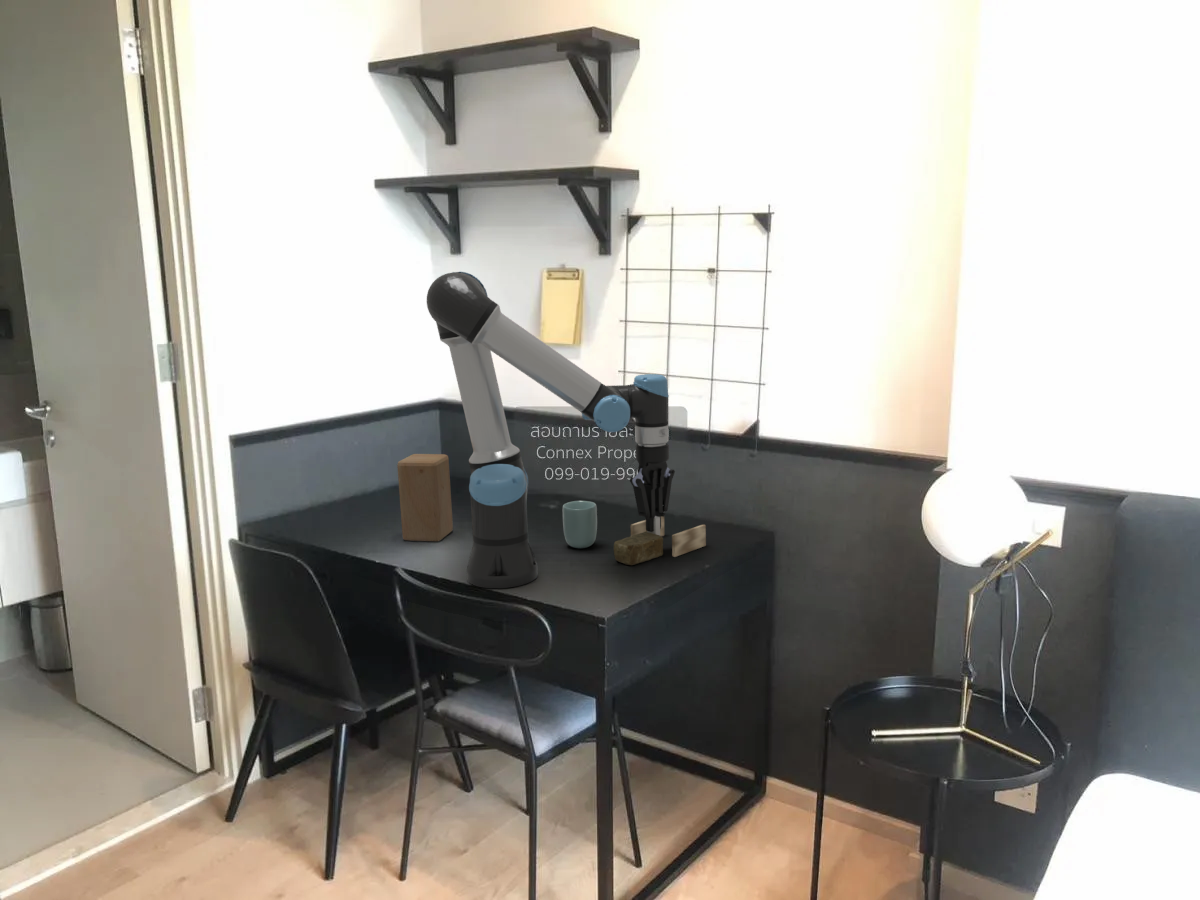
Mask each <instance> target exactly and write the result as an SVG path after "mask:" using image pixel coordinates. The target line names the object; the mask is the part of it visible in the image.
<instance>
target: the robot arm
mask: <svg viewBox="0 0 1200 900" xmlns="http://www.w3.org/2000/svg"><path fill="white" fill-rule="evenodd" d="M426 307H427V311H428V313H429V315H430V317H431V318H432V319H433V320H434V321H435V324H436V328H437V332H438V335H439V340H440V342H442V343H444V345H446V346H448V348H449V351H450V356H451V361H452V366H453V369H454V373H455V374H454V375H455V377H456V381H457V386H458V391H459V395H460V400H461V404H462V408H463V412H464V417H465V421H466V425H467V428H468V434H469V437H470V442H471V447H472V451H473V452H472V454H471V455H470V457H469V459H468V463H469V464H468V465H469V468H470V473H471V475H470V477H469V485H468V490H469V493H470V509H471V510H470V511H471V525H472V530H471V531H472V540H473V541H472V547H471V552H470V555H469V560H468V563H467V567H466V580H467V582H468V583H469V584H471V585H472V584H473V586H475V587H479V588H486V589H507V588H508V589H509V588H515V587H519V586H523V585H526V584H529V583H531V582H533V581H534V580H535V579H537V578H538V575H539V572H538V571H539V570H538V568H539V567H538V563H537V560H536V558H535V555H534V552H533V549H532V547H531V544H530V542H529V534H528V528H529V527H528V508H527V507H528V505H527V500H528V499H527V498H528V491H529V476H528V474H527V472H526V469H525V468H524V462H523V459H522V455H521V450H520V448H519V447H518V446H516V445H514V444H513V443H512V440H511V437H510V436H511V435H510V433H509V428H508V423H507V419H506V414H505V409H504V406H503V400H502V396H501V392H500V387H499V382H498V378H497V373H496V369H495V366H494V361H493V356H492V353H493V354H495V355H496V356H498V357H500V358H501V359H503V360H504V361H505V362H507V363H508V364H510V365H511V366H513V367H514V368H515V369H518V371H520V372H522V373H523V374H524V375H526V376H527V377H529V378H530V379H532V380H533V381H535V382H536V383H538V384H539V385H541V386H542V387H544V388H545V389H546V390H548V391H549V392H550V393H553V394H554V395H555V396H556V397H558V398H559V399H561V400H562V401H564V402H565V403H566V404H568V405H570V406H571V407H573V408H574V409H576V410H577V411H578V412H580V413H581V417H582V419H583V420H585V421H593V422H594V423H595V425H596V426H597V427H598V428H599V429H600V430H603V431H605V432H606V433H618V432H620V431H622V430H623V429H624V428H626V427H627V426H628V424H629V421H630V419H634V432H635V433H634V436H635V437H634V441H635V443H636V445H635V460H636V461H637V464H638V467H637V474H636V475H635V476H634V477H630V479H629V482H630V484H631V486H632V487H633V488H632V489H633V493H634V498H635V501H636V502H635V503H636V508H637V512H638V516H641V517H644V518H645V520H646V531H647V532H649V533H653V534H656V535H659V536H660V529H661V516H662V517H664V518H665V515H666V513H667V512H668V509H669V505H670V504H669V503H670V496H671V490H672V481H673V478H674V477H675V472H676V471H675V469H673V468H672V469H670V468H669V467H668V463H667V461H669V459H670V445H669V443H668V442H669V398H670V395H669V386H668V385H669V383H668V379H667V377H666V376H665V375H662V374H656V373H655V374H654V373H648V374H647V373H646V374H637V375H636V376H635V377H634V379H633V383H631V384H627V385H626V384H625V385H621V384H619V385H618V384H617V385H605V384H603V383H602V382H601V381H599V380H598V379H597V378H595V377H593V376H592V375H591V374H589V373H588V372H586V371H585V370H583V368H581V367H579V366H578V365H576V364H575V363H573V362H572V361H571V360H569V359H568V358H566V357H565V356H563V355H562V354H561V353H559V352H558V351H556V350H555V349H553V347H551V346H550V345H547V344H546V343H545V342H544V341H542V340H541V339H539V338H537V336H535V335H534V334H532V333H531V332H529V331H528V330H527V329H525V328H524V327H522V326H520V324H518V323H517V322H515V321H513V320H512V318H509V317H508V316H506V315H505V314H504V313H502V312H501V307H500V304H498V303H497V302H495V301H494V300H492V299H491V298H490V297H489V296H488V293H487V289H486V288H485V286H484V284H483V283H482V282H481V280H480V279H478V277H476V276H475V275H473V274H471V273H468V272H465V271H452V272H448V273H444V274H441V275H440V276H438V277H437V278H436V279H435V280H434V281H432V283H431V285H430V286H429V288H428V290H427V294H426Z"/></svg>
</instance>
